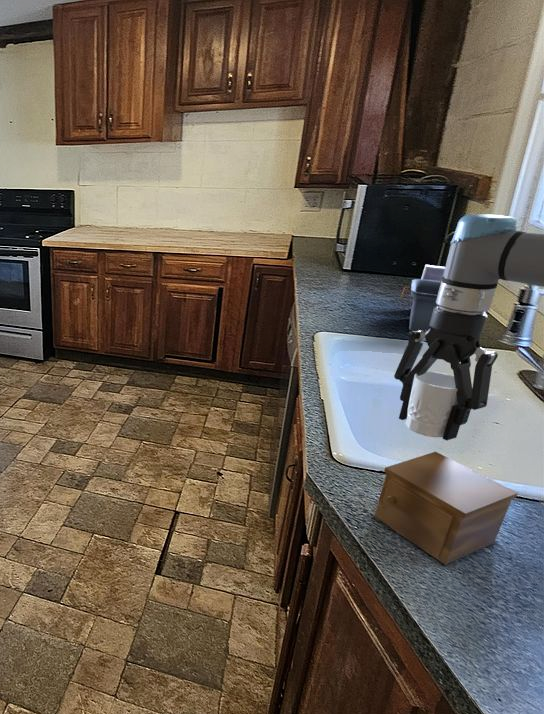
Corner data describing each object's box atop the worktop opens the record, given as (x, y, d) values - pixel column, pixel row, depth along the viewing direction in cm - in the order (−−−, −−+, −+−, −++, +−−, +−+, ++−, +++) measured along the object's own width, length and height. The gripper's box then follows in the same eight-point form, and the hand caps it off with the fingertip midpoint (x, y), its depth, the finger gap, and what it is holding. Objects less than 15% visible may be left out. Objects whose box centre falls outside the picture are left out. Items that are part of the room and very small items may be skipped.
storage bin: (447, 339, 173) (460, 296, 167) (393, 330, 180) (403, 289, 175) (445, 322, 189) (457, 283, 184) (395, 315, 197) (405, 277, 192)
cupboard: (497, 543, 84) (518, 492, 80) (441, 568, 79) (461, 515, 75) (420, 498, 94) (435, 451, 91) (366, 517, 89) (380, 468, 85)
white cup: (415, 415, 103) (428, 368, 99) (460, 432, 97) (476, 382, 93) (392, 425, 99) (405, 376, 95) (438, 444, 93) (453, 392, 89)
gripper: (389, 296, 97) (363, 408, 105) (515, 329, 79) (472, 459, 88) (417, 292, 99) (389, 401, 108) (544, 323, 82) (499, 450, 90)
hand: (426, 427), depth 98 cm, fingers closed on white cup, 8 cm apart
